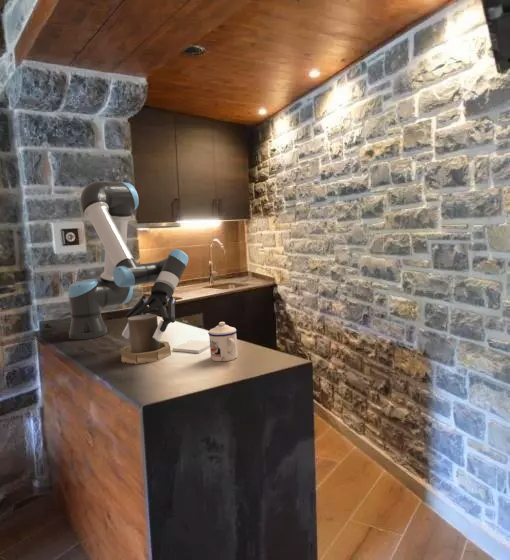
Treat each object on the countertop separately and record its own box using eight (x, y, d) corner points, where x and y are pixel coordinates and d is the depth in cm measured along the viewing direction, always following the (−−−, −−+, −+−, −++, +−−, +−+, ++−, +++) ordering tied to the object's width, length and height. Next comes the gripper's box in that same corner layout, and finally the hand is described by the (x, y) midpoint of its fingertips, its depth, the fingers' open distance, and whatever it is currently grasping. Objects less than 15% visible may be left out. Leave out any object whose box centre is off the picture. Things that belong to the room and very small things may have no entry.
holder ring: (111, 360, 144) (110, 352, 144) (144, 347, 158) (143, 339, 158) (148, 365, 137) (147, 356, 136) (179, 351, 151) (178, 342, 150)
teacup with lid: (205, 357, 141) (202, 322, 140) (230, 351, 146) (227, 318, 144) (222, 366, 131) (219, 328, 129) (248, 360, 136) (245, 323, 134)
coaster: (172, 350, 151) (172, 348, 151) (191, 342, 161) (191, 340, 161) (198, 353, 146) (198, 350, 146) (216, 344, 156) (216, 341, 156)
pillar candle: (162, 357, 144) (158, 313, 143) (132, 362, 141) (128, 316, 140) (158, 350, 154) (154, 308, 152) (130, 354, 150) (126, 312, 149)
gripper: (198, 293, 153) (175, 346, 141) (143, 292, 164) (118, 341, 153) (187, 280, 148) (163, 334, 136) (132, 280, 159) (105, 330, 148)
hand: (139, 338), depth 145 cm, fingers open, 13 cm apart
